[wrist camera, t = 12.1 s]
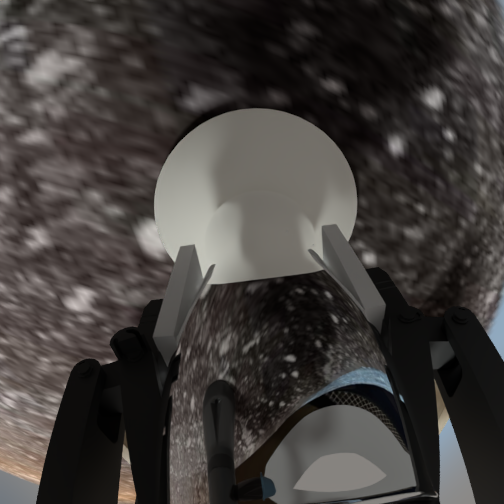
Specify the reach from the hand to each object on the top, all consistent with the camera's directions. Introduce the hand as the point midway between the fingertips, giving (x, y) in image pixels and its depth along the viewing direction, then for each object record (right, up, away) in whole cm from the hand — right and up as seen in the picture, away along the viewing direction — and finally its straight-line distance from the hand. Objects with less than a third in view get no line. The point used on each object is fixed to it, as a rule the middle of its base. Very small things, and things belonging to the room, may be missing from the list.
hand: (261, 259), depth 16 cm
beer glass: (0, +1, +2) cm, 2 cm away
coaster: (0, +3, +3) cm, 4 cm away
